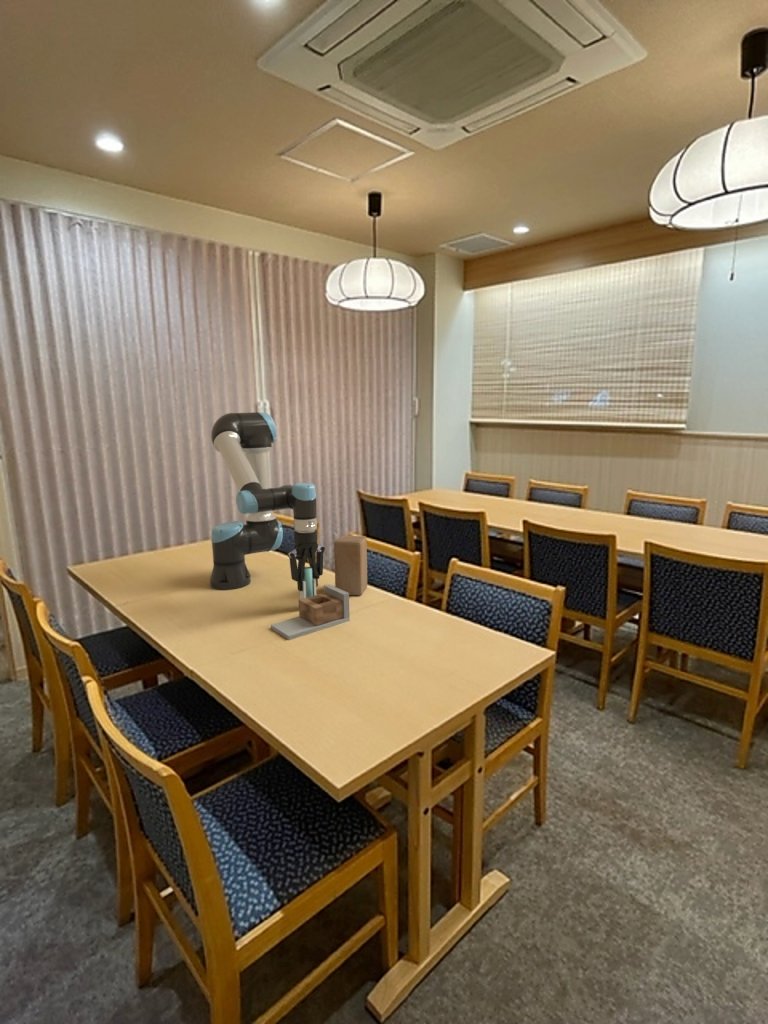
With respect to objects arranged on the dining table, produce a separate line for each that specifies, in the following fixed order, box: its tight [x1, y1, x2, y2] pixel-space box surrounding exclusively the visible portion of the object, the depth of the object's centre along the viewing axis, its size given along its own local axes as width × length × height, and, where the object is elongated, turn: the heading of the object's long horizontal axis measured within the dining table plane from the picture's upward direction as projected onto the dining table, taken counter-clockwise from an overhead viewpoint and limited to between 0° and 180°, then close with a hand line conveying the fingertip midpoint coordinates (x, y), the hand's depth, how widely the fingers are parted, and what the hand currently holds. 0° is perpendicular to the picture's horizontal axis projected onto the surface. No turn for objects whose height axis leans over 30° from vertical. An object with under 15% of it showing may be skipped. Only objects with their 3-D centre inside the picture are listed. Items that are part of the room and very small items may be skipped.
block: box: [333, 534, 368, 596], centre depth 200 cm, size 10×10×20 cm
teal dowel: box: [303, 566, 313, 598], centre depth 184 cm, size 3×3×14 cm
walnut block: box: [298, 592, 343, 626], centre depth 173 cm, size 10×10×6 cm
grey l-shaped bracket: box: [270, 584, 351, 641], centre depth 171 cm, size 11×22×9 cm, turn 130°
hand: (308, 597), depth 185 cm, fingers open, 3 cm apart
